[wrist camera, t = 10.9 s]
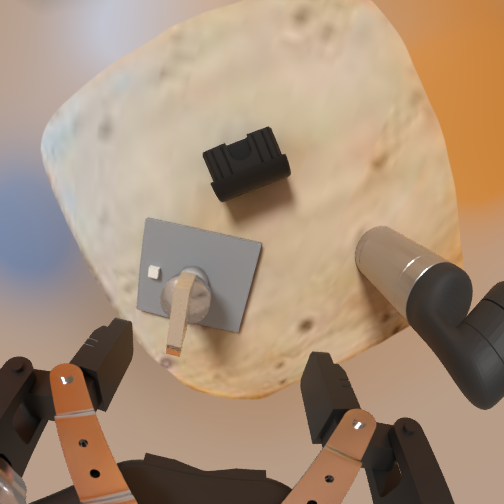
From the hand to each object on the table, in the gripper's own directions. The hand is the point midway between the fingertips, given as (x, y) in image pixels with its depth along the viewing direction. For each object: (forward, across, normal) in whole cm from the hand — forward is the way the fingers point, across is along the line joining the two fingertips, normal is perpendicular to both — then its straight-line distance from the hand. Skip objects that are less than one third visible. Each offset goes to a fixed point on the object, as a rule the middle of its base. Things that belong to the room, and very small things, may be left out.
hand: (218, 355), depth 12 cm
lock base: (+32, +5, +11) cm, 34 cm away
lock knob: (+26, +5, +11) cm, 28 cm away
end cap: (+32, 0, -8) cm, 33 cm away
